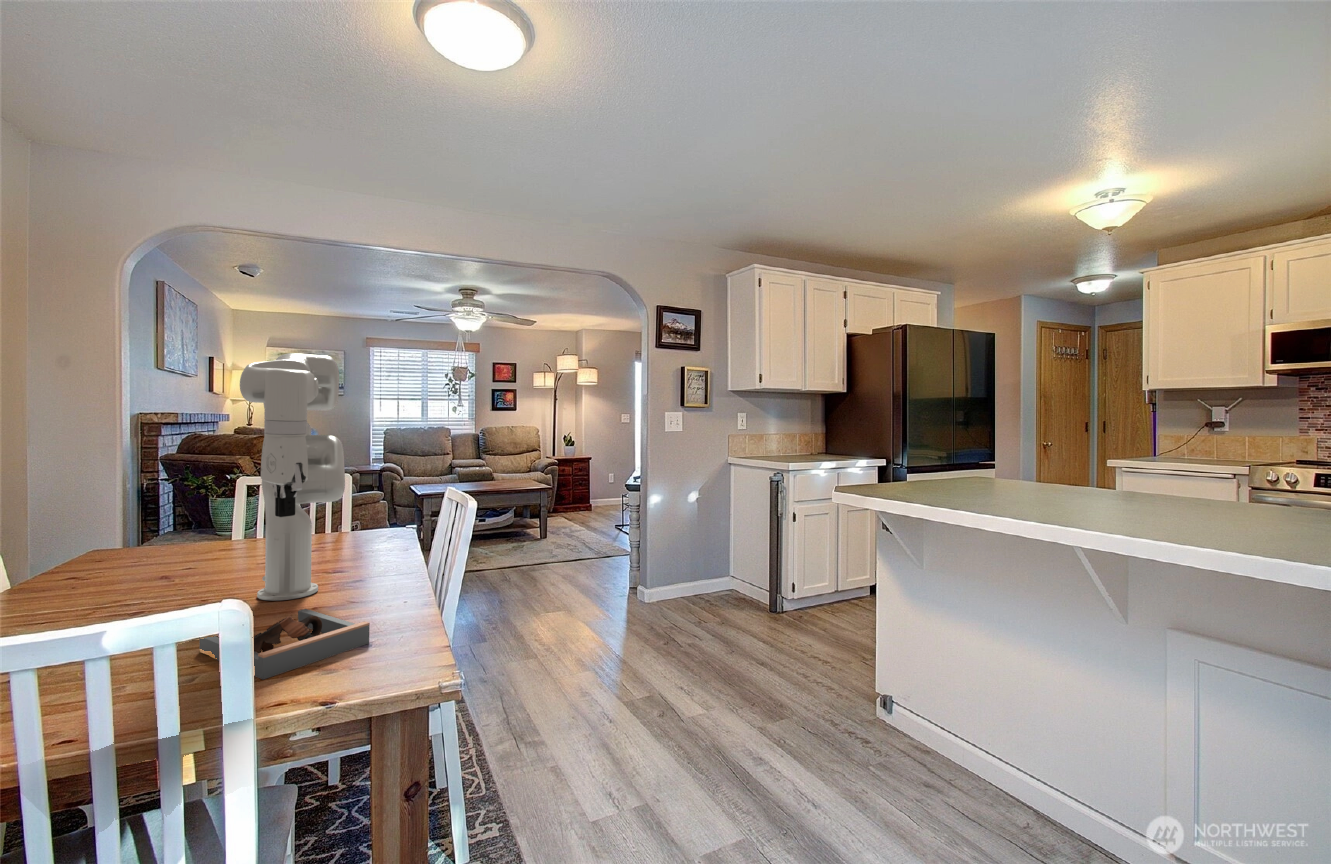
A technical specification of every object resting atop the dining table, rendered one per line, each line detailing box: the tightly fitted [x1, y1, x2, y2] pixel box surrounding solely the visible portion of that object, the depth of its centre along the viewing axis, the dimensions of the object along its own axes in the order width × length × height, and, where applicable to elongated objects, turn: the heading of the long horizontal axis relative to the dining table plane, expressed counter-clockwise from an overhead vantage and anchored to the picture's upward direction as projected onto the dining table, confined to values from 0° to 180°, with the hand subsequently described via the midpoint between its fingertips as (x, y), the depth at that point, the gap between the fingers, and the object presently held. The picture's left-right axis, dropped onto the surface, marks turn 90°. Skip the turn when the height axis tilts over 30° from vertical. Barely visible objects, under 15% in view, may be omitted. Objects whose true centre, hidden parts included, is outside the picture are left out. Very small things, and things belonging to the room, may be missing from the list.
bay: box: [198, 608, 371, 680], centre depth 111 cm, size 22×19×4 cm
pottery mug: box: [253, 615, 322, 653], centre depth 108 cm, size 12×10×8 cm
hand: (285, 515), depth 124 cm, fingers closed
